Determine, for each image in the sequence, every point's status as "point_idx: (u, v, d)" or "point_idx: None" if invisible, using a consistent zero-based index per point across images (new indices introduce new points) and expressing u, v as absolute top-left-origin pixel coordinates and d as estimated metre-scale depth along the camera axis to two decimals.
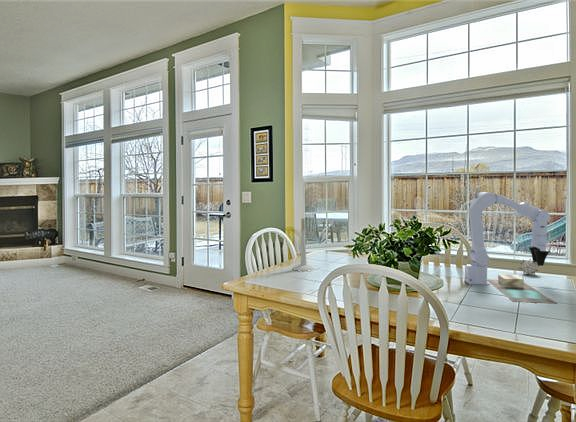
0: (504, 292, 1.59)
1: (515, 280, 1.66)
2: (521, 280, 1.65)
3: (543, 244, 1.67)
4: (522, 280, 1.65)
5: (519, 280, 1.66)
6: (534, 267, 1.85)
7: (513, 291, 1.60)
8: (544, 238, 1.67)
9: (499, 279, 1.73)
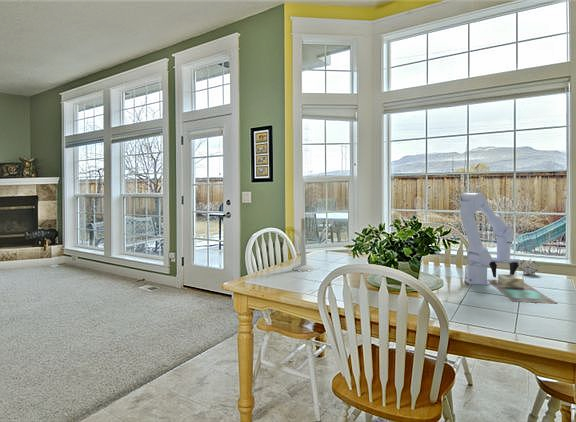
0: (504, 292, 1.59)
1: (515, 280, 1.66)
2: (521, 280, 1.65)
3: (498, 258, 1.78)
4: (522, 280, 1.65)
5: (519, 280, 1.66)
6: (534, 267, 1.85)
7: (513, 291, 1.60)
8: (499, 253, 1.77)
9: (499, 279, 1.73)
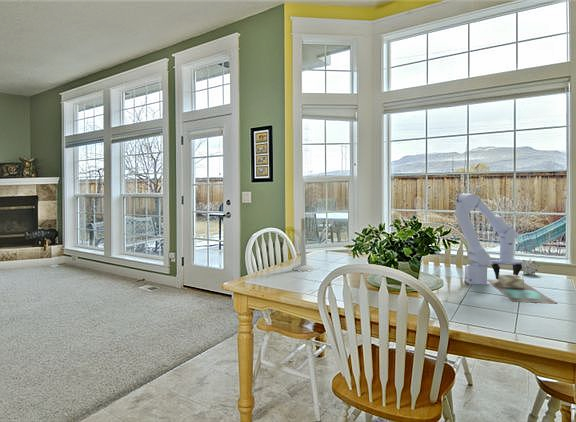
0: (504, 292, 1.59)
1: (515, 280, 1.66)
2: (521, 280, 1.65)
3: (501, 260, 1.74)
4: (522, 280, 1.65)
5: (519, 280, 1.65)
6: (534, 267, 1.85)
7: (513, 291, 1.60)
8: (502, 254, 1.73)
9: (499, 279, 1.73)
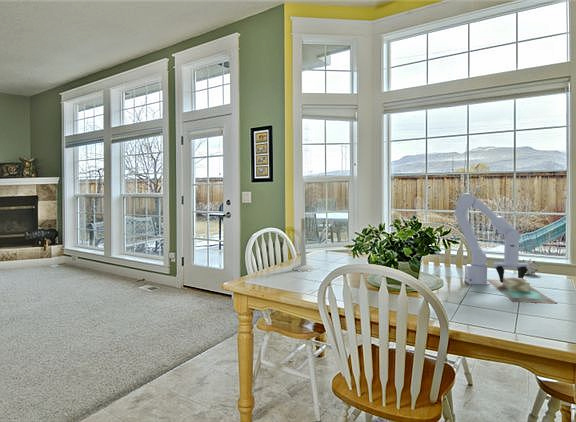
0: (504, 292, 1.59)
1: (521, 283, 1.60)
2: (527, 283, 1.60)
3: (506, 262, 1.69)
4: (528, 283, 1.60)
5: (525, 283, 1.60)
6: (534, 267, 1.85)
7: (513, 291, 1.60)
8: (507, 256, 1.68)
9: (504, 282, 1.67)
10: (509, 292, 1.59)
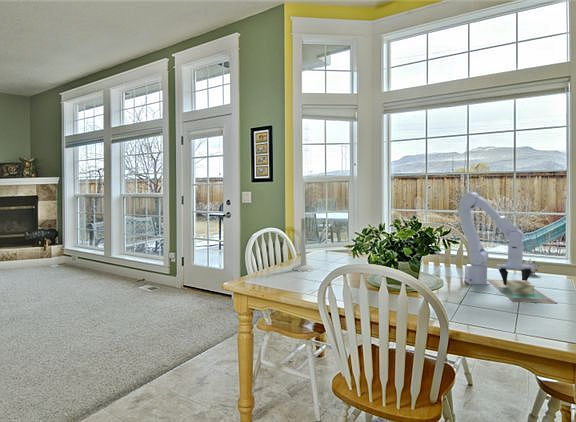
0: (504, 292, 1.59)
1: (525, 286, 1.56)
2: (531, 286, 1.55)
3: (509, 264, 1.64)
4: (532, 286, 1.55)
5: (529, 286, 1.56)
6: (534, 267, 1.85)
7: None
8: (510, 258, 1.64)
9: (508, 285, 1.63)
10: (509, 292, 1.59)
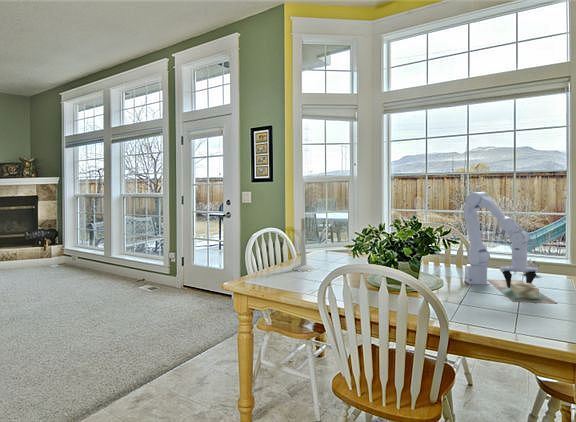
0: (504, 292, 1.59)
1: (529, 289, 1.52)
2: (536, 289, 1.51)
3: (513, 266, 1.60)
4: (537, 289, 1.51)
5: (534, 289, 1.51)
6: None
7: None
8: (514, 260, 1.59)
9: (511, 288, 1.59)
10: (509, 292, 1.59)
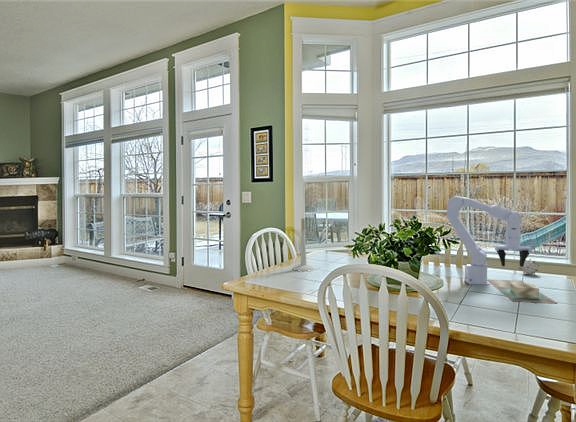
0: (504, 292, 1.59)
1: (530, 289, 1.52)
2: (536, 289, 1.51)
3: (507, 246, 1.67)
4: (537, 289, 1.51)
5: (534, 289, 1.51)
6: (534, 267, 1.85)
7: None
8: (508, 240, 1.66)
9: (511, 288, 1.59)
10: (509, 292, 1.59)
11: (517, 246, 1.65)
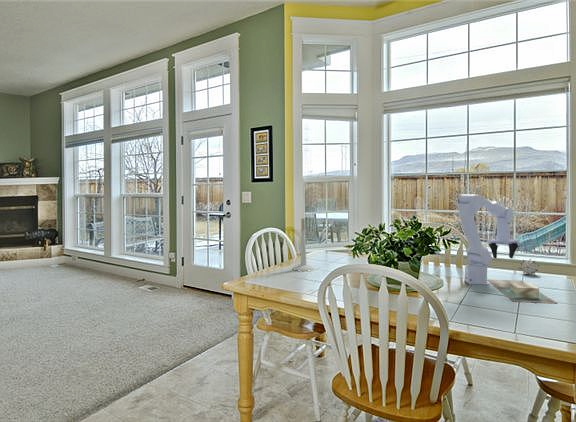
0: (504, 292, 1.59)
1: (530, 289, 1.52)
2: (536, 289, 1.51)
3: (499, 239, 1.80)
4: (537, 289, 1.51)
5: (534, 289, 1.51)
6: (534, 267, 1.85)
7: None
8: (500, 234, 1.80)
9: (511, 288, 1.59)
10: (509, 292, 1.59)
11: (508, 239, 1.78)
